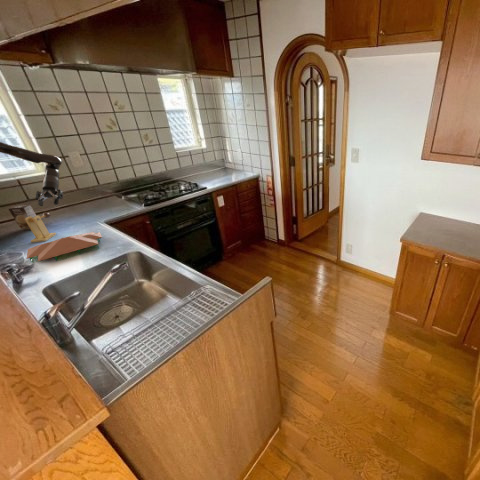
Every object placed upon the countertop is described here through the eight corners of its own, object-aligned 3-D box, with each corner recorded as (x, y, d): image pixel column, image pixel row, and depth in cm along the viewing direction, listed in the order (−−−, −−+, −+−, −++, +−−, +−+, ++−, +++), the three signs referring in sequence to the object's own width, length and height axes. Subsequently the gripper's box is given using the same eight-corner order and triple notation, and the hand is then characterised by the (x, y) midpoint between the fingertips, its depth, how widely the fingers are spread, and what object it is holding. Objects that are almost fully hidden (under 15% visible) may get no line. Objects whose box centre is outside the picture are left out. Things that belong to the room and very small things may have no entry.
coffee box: (20, 230, 180) (6, 208, 172) (28, 226, 186) (15, 205, 178) (35, 229, 181) (22, 207, 174) (42, 225, 187) (30, 204, 179)
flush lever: (46, 217, 174) (44, 212, 173) (52, 217, 174) (50, 211, 173) (29, 223, 161) (26, 217, 159) (36, 222, 161) (33, 217, 160)
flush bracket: (42, 235, 171) (30, 214, 164) (56, 234, 173) (44, 213, 166) (31, 242, 163) (17, 221, 156) (46, 241, 164) (33, 219, 157)
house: (106, 247, 155) (100, 234, 151) (29, 269, 135) (20, 256, 131) (101, 235, 170) (95, 223, 166) (30, 253, 150) (22, 241, 146)
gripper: (33, 181, 174) (30, 203, 169) (58, 179, 176) (55, 201, 172) (43, 187, 181) (40, 208, 176) (67, 185, 184) (64, 206, 179)
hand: (48, 204), depth 174 cm, fingers open, 8 cm apart
